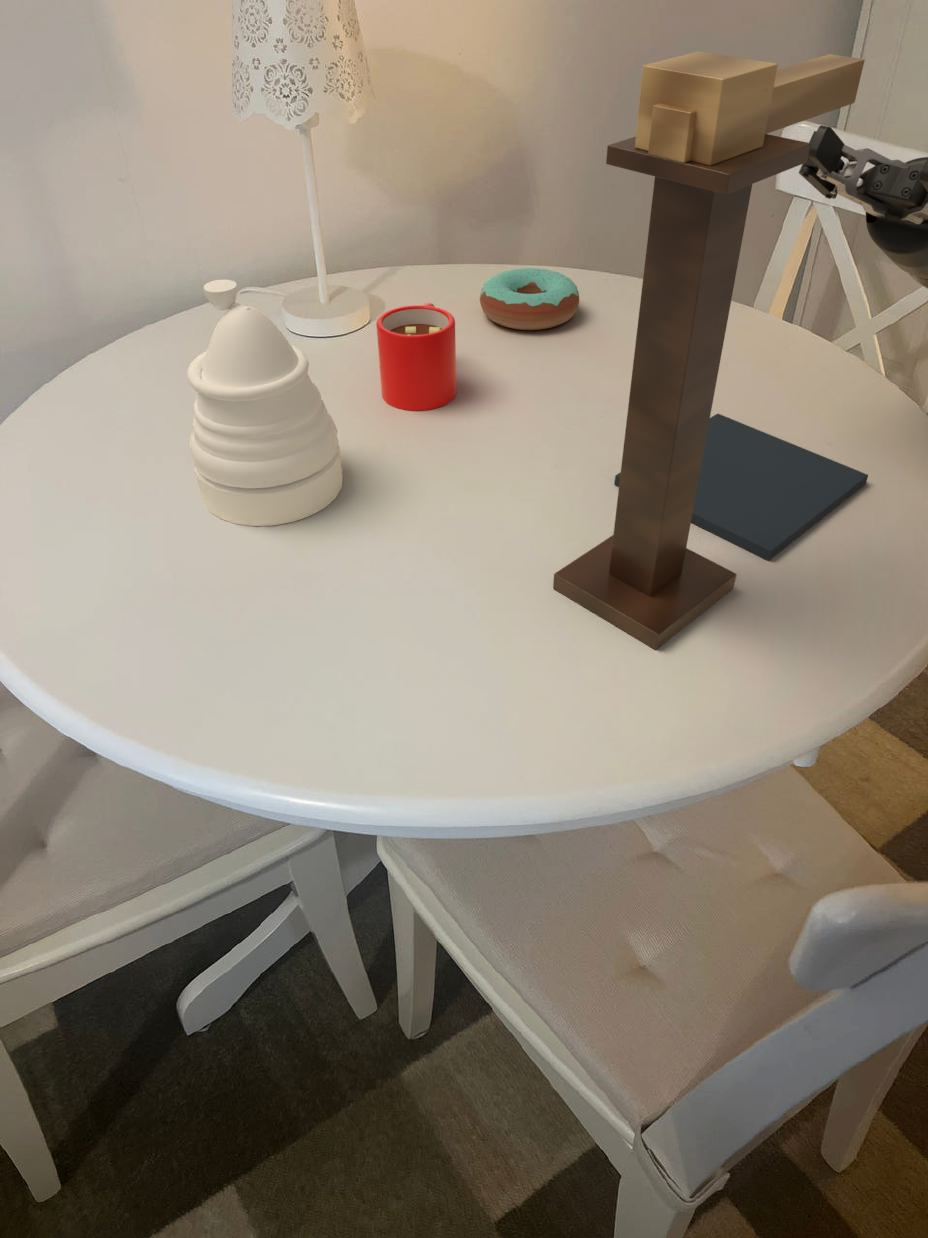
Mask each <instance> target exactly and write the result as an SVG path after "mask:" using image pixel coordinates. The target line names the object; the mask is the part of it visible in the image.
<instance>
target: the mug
mask: <svg viewBox="0 0 928 1238" xmlns="http://www.w3.org/2000/svg"><path fill="white" fill-rule="evenodd" d="M375 326H376V338H377V349H378V351H377V352H378V362H379V375H380V388H381V389H380V390H381V397H382V399H383V400H384V402H386V403H387V404H388V405H390V406H392V407H394V408H396V409H400V410H404V411H412V412H413V411H415V412H416V411H421V412H422V411H429V410H434V409H439V408H441V407H443V406H444V407H445V406H446V405H447V404H449V403H450V402H452V401H453V400H454V399H455V398H456V396H457V354H456V353H457V352H456V351H457V350H456V349H457V347H456V319H455V317H454V316H453V314H452V313H451V312H449V311H447V310H446V309H443V308H440V307H437V306H435V305H434V304H433V303H432V302H425V303H423V304H417V305H416V304H413V305H405V306H399V307H394V308H392V309H389V310H387V311H385V312H383V313H382V314H381V315H379V317H378V318H377V320H376V324H375Z"/></svg>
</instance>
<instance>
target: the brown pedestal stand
mask: <svg viewBox="0 0 928 1238" xmlns="http://www.w3.org/2000/svg"><path fill="white" fill-rule="evenodd" d="M635 141H636V136H633V137H630V138H627V139H623V140H620V141H617V142H614V143H610V144H607V145H606V147H607V148H606V160H605V164H606V165H608V166H612V167H616V168H620V169H624V170H628V171H632V172H634V173H635V172H636V173H640V174H642V175H643V174H644V175H648V176H651V177H654V180H653V189H652V190H653V191H652V198H651V205H650V206H651V207H650V216H649V224H648V232H647V233H648V234H647V241H646V250H645V251H646V252H645V259H644V268H643V275H642V284H641V292H640V293H641V294H640V303H639V311H638V318H637V319H638V320H637V328H636V337H635V345H634V354H633V361H632V362H633V363H632V371H631V380H630V387H629V397H628V404H627V414H626V416H627V417H626V423H625V432H624V439H623V449H622V458H621V465H620V466H621V467H620V472H621V474H620V483H619V487H618V492H617V494H618V495H617V501H616V510H615V519H614V527H613V534H612V535H611V536H609V537H607V538H606V539H605V540H602V542H600V543H599V544H597V545H596V546H594V547H592V548H591V549H589V550H588V551H586V552H585V553H584V554H581V556H578V557H577V558H576V559H574V560H572V561H571V562H569V563H568V564H567V565H565V566H564V567H562V568H561V569H559V570H558V571H556V572H554V574H553V584H552V585H553V586H552V588H553V590H555V591H557V592H558V593H559V594H562V595H563V596H565V597H566V598H568V599H570V600H572V601H573V602H574V603H577V604H578V605H580V606H581V607H583V608H584V609H586V610H588V611H590V612H591V613H593V614H595V615H597V616H598V617H600V618H601V619H604V620H605V621H607V622H608V623H610V624H612V625H613V626H614V627H617V628H618V629H619V630H621V631H623V632H624V633H626V634H628V635H630V636H631V637H633V638H635V639H636V640H638V641H640V642H641V643H643V644H645V645H646V646H648V647H649V648H651V649H653V650H655V651H656V650H658V649H659V648H660V647H661V646H663V645H664V644H665V643H667V642H668V641H669V640H670V639H672V638H673V637H674V636H675V635H676V634H678V633H679V632H680V631H681V630H683V629H684V628H685V627H687V626H688V625H689V624H690V623H692V622H693V621H694V620H696V619H697V618H698V617H699V616H701V615H702V614H703V613H704V612H706V611H707V610H708V609H710V608H711V607H712V606H713V605H714V604H716V603H717V602H718V601H720V600H721V599H722V598H723V597H724V596H726V595H727V594H729V592H731V591H733V589H734V587H735V583H736V579H737V573H736V572H734V571H732V570H730V569H729V568H726V567H724V566H722V565H720V564H719V563H716V562H715V561H713V560H711V559H708V558H707V557H706V556H703V555H701V554H699V553H697V552H695V551H693V550H691V549H689V548H687V545H688V540H689V536H690V530H691V524H692V523H691V519H692V514H693V508H694V503H695V497H696V492H697V486H698V481H699V475H700V470H701V464H702V459H703V453H704V448H705V442H706V437H707V431H708V426H709V420H710V418H711V415H712V414H711V413H712V409H713V403H714V399H715V392H716V386H717V381H718V376H719V370H720V365H721V359H722V354H723V347H724V342H725V337H726V331H727V326H728V321H729V314H730V311H731V310H730V309H731V305H732V299H733V293H734V288H735V282H736V276H737V271H738V266H739V260H740V254H741V249H742V243H743V239H744V238H743V237H744V233H745V227H746V222H747V216H748V211H749V206H750V201H751V200H750V199H751V195H752V188H753V185H754V184H756V183H758V182H761V181H763V180H767V179H768V178H771V177H773V176H776V175H778V174H781V173H783V172H786V171H789V170H792V169H794V168H796V167H798V166H799V167H800V166H802V164H804V163H806V162H807V160H808V156H809V151H810V146H811V143H809V142H806V141H803V140H798V139H793V138H786V137H784V136H783V137H782V136H779V135H778V136H777V135H773V134H769V133H768V134H765V137H764V142H763V147H760V148H758V149H755V150H752V151H749V152H747V153H744V154H741V155H738V156H736V157H733V158H730V159H727V160H725V161H722V162H719V163H716V164H714V165H711V166H709V165H705V164H701V163H696V162H692V161H688V162H685V163H682V162H678V161H674V160H670V159H665V158H661V157H657V156H653V155H649V154H648V151H646V150H641V149H637V148H635Z"/></svg>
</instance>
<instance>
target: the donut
mask: <svg viewBox="0 0 928 1238" xmlns="http://www.w3.org/2000/svg"><path fill="white" fill-rule="evenodd" d="M482 286H483V287H482V288H481V290H480V294H479V295H480V296H479V303H480V307H481V309H482V313H483V314H484V315H485V316H486V318H488V319H489V320H490V321H492V322H494V323H495V324H497V325H500V326H501V327H505V328H507V329H508V328H509V329H513V330H518V331H519V330H520V331H540V330H547V329H551V328H554V327H557V326H561V325H562V324H564V323H566V322H568V321H569V320H570V319H571V318H572V317H573V316H574V315H575V314H576V311H577V309H578V307H579V305H580V293H579V290H578V286H577V284H576V283H575V282H574V281H573V280H572V279H571V278H570V277H568V276H567V275H565V274H563V273H560V272H557V271H554V270H550V269H544V268H535V267H526V268H525V267H524V268H515V269H508V270H504V271H501V272H499V273H497V274H495V275H493V276H492V277H489V279H487V281H485V282H484V283H483V285H482Z"/></svg>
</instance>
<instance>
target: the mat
mask: <svg viewBox="0 0 928 1238" xmlns="http://www.w3.org/2000/svg"><path fill="white" fill-rule="evenodd" d="M620 474H621V471H620V472H619V473H616V475H615V476H614V484H613V485H614V486H616V487H618V488H619V483H620ZM868 478H869V474H868V473H865V472H863V471H860V470H857V469H855V468H852V467H850V466H848V465H846V464H843V463H840V462H838V461H835V460H833V459H830V458H828V457H826V456H823V455H820V454H818V453H816V452H814V451H810V450H809V449H806V448H804V447H801V446H799V445H796V444H794V443H791V442H789V441H786V440H784V439H781V438H779V437H776V436H775V435H772V434H769V433H766V432H765V431H762V430H759V429H756V428H755V427H752V426H750V425H748V424H744V423H743V422H740V421H737V420H735V419H733V418H730V417H728V416H726V415H723V414H720V413H716V414H714V415H713V416H710V420H709V426H708V431H707V437H706V442H705V448H704V453H703V459H702V464H701V470H700V475H699V481H698V486H697V492H696V497H695V503H694V508H693V514H692V519H691V524H694V525H695V526H697V527H699V528H701V529H704V530H705V531H707V532H710V533H711V534H713V535H716V536H717V537H719V538H721V539H723V540H725V541H727V542H730V543H731V544H734V545H736V546H738V547H740V548H742V549H744V550H746V551H748V552H750V553H752V554H754V555H756V556H757V557H759V558H762V559H764V560H766V561H768V562H769V561H770V560H772V559H773V558H774V557H775V556H777V555H778V554H779V553H781V551H783V550H784V549H786V548H787V547H788V546H789V545H791V544H792V543H793V542H795V541H796V540H797V539H799V537H800V536H802V535H803V534H805V533H806V532H807V531H808V530H809V529H811V528H812V527H813V526H815V525H816V524H817V523H818V522H820V521H821V520H823V518H825V517H827V515H828V514H830V513H832V512H833V510H835V509H836V508H837V507H839V506H840V505H841V504H842V503H844V502H845V501H846V500H848V499H849V498H850V497H851V496H853V495H854V494H855V493H856V492H858V491H859V490H860V489H861V488H863V487H864V486H865V485H866V484H867V481H868Z"/></svg>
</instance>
